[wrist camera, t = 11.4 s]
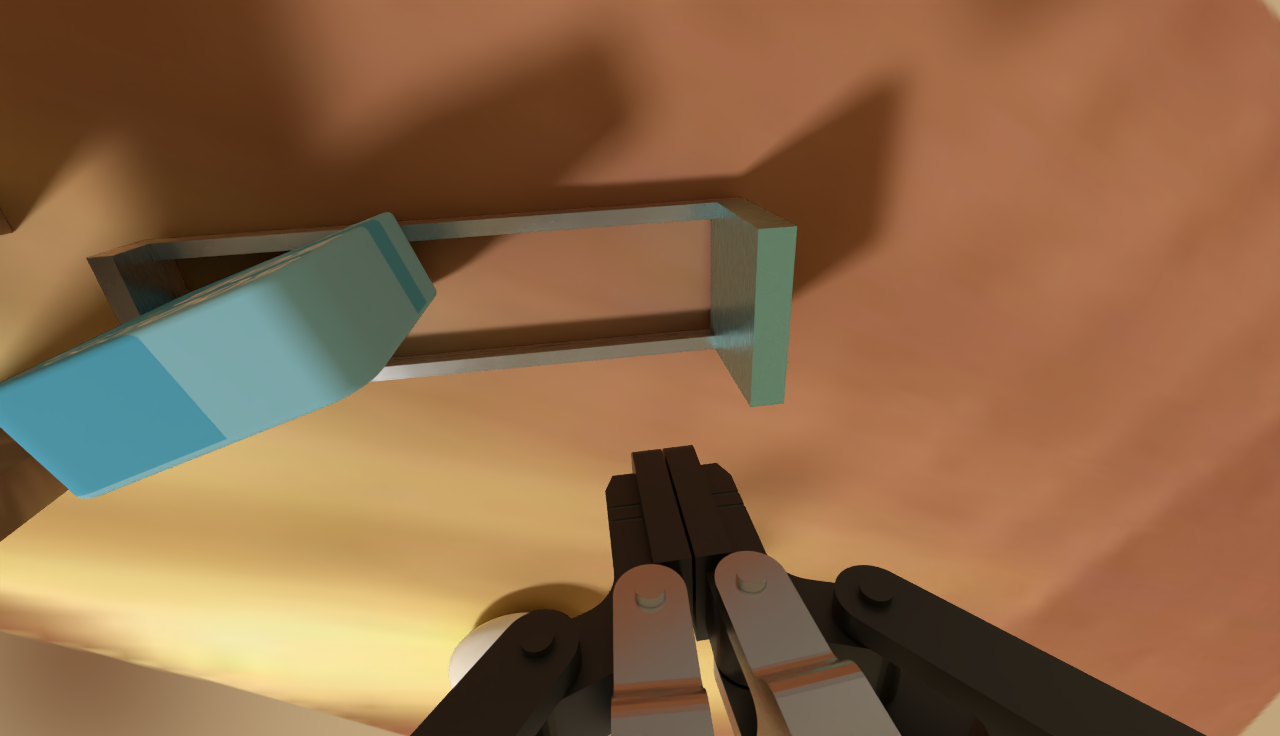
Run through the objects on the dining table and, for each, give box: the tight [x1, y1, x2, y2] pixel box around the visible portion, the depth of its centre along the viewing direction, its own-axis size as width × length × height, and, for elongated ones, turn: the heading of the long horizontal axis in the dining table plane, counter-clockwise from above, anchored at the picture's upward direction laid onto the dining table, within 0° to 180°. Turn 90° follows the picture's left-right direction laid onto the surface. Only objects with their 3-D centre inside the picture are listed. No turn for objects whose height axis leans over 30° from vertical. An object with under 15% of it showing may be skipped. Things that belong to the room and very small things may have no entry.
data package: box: [0, 212, 436, 499], centre depth 23 cm, size 12×4×12 cm, turn 110°
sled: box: [87, 197, 797, 407], centre depth 26 cm, size 8×30×8 cm, turn 93°
